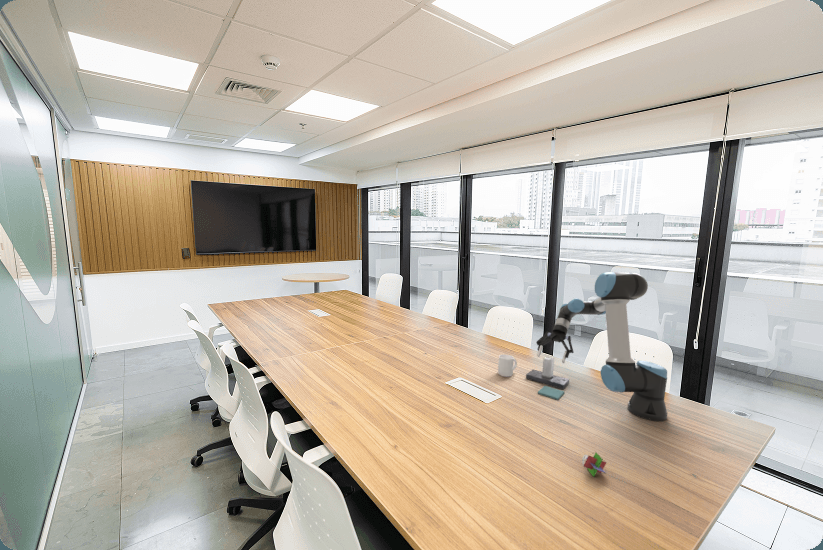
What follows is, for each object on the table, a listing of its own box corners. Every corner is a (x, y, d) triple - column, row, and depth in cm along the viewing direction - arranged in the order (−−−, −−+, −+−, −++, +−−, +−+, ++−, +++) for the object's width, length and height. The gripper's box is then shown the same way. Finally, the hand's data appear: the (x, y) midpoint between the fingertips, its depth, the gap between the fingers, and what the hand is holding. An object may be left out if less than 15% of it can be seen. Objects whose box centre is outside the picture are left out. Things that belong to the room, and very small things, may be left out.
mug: (511, 369, 209) (512, 352, 207) (521, 375, 201) (522, 357, 200) (494, 372, 204) (495, 355, 202) (504, 378, 196) (505, 360, 195)
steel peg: (552, 381, 194) (554, 358, 192) (549, 383, 190) (551, 360, 189) (544, 378, 197) (546, 356, 195) (541, 381, 193) (543, 358, 192)
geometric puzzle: (604, 460, 122) (592, 443, 121) (616, 474, 116) (603, 455, 115) (586, 472, 123) (574, 455, 122) (597, 486, 116) (585, 468, 115)
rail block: (569, 383, 191) (569, 379, 191) (563, 389, 183) (563, 384, 183) (532, 373, 204) (533, 369, 203) (525, 378, 196) (526, 374, 196)
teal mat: (564, 393, 179) (564, 391, 179) (557, 400, 171) (558, 398, 171) (544, 387, 185) (544, 385, 185) (537, 393, 178) (537, 391, 178)
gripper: (584, 335, 200) (575, 368, 191) (541, 327, 216) (530, 356, 207) (583, 328, 196) (572, 361, 186) (538, 320, 212) (527, 350, 202)
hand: (550, 359), depth 197 cm, fingers open, 13 cm apart
